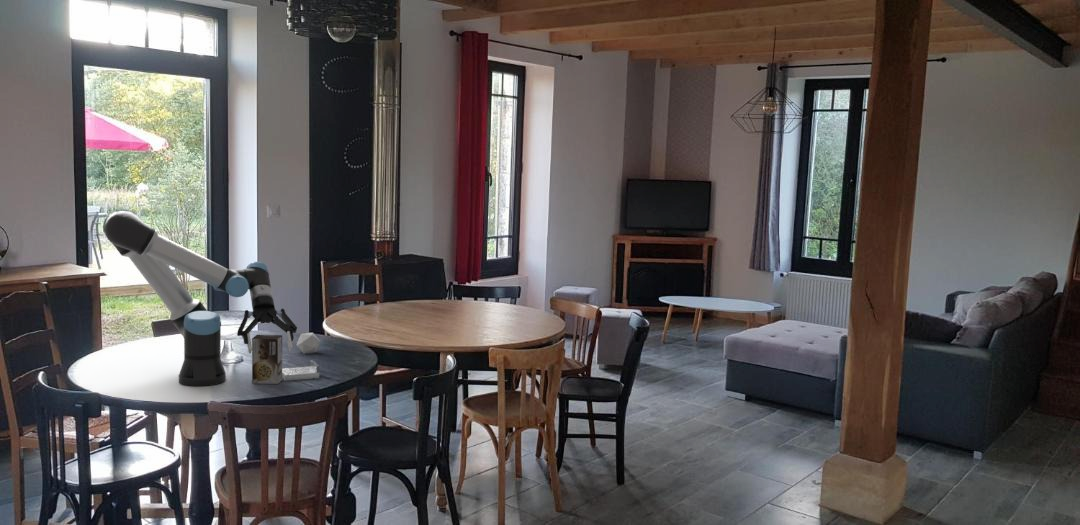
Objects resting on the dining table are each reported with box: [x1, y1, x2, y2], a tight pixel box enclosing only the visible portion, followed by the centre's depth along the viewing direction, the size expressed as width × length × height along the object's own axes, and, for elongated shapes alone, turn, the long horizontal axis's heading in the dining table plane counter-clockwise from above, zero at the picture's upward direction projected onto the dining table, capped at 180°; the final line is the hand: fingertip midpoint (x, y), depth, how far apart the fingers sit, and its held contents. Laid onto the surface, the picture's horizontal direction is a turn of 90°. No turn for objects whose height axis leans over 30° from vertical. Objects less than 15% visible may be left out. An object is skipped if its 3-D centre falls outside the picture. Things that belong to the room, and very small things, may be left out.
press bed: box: [282, 359, 320, 382], centre depth 303 cm, size 12×10×4 cm
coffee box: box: [251, 334, 283, 385], centre depth 293 cm, size 9×6×16 cm
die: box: [296, 332, 321, 355], centre depth 340 cm, size 8×9×10 cm
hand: (270, 350), depth 293 cm, fingers open, 13 cm apart
